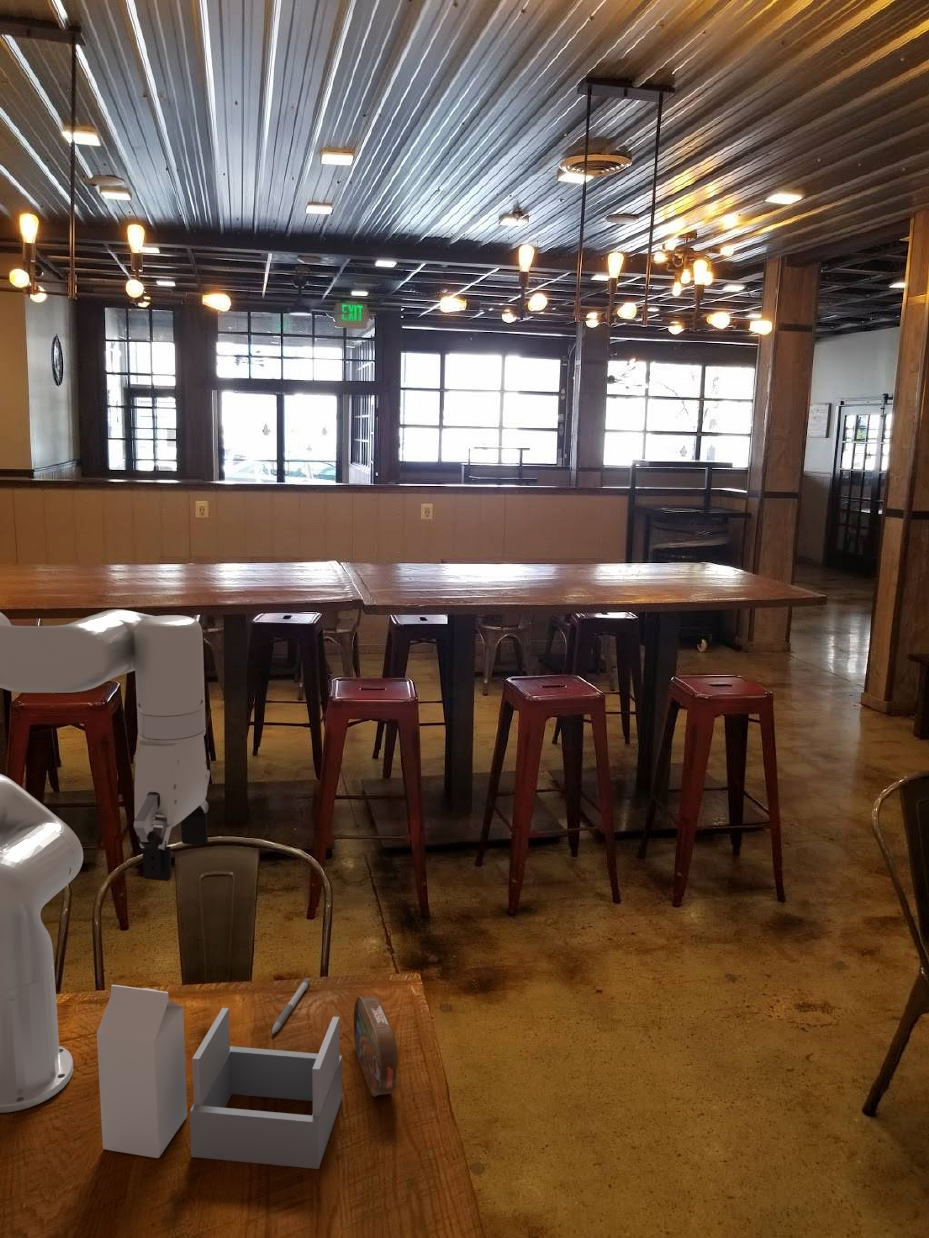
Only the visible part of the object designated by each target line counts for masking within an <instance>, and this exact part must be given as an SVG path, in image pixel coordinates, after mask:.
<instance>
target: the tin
mask: <svg viewBox="0 0 929 1238" xmlns="http://www.w3.org/2000/svg"><path fill="white" fill-rule="evenodd" d="M353 1038H354V1045H355V1047H354V1048H355V1052H356V1056H357V1058H358V1062H359V1064H360V1067H361V1070H362V1073H363V1076H364V1078H365V1082H366V1085H367V1088H368V1090H369V1092H370V1095H372V1097H377V1096H380V1095H388V1094H392V1093H394V1092H395V1090H396V1089H397V1077H398V1076H397V1074H398V1073H397V1072H398V1065H399V1053H398V1045H397V1040H396V1035H395V1032H394V1030H393V1027H392V1024H391V1022H390V1020H389V1018H388V1014H387V1013H386V1010H385V1009H384V1005H383V1004H382V1002H381V999H380V997H378V996H376V995H375V996H374V995H373V996H372V995H371V996H358V997H357V998H356V1000H355V1003H354V1009H353Z"/></svg>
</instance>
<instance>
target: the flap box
mask: <svg viewBox="0 0 929 1238" xmlns="http://www.w3.org/2000/svg"><path fill="white" fill-rule="evenodd" d="M229 1008H230V1007H222V1008H221V1009H220V1012H219V1013H218V1014H217V1016H216V1018H215V1020H214V1021H213V1023H212V1025H211V1026H210V1028H209V1030H208V1032H207V1033H206V1034H205V1036H204V1038H203V1039H202V1041H201V1043H200V1045H199V1046H198V1048H197V1050H196V1052H195V1053H194V1055H193V1057H192V1058H191V1059H192V1084H193V1085H192V1086H193V1089H192V1091H193V1092H192V1093H193V1104H192V1106H191V1108H190V1110H189V1125H190V1126H189V1127H190V1128H189V1129H190V1151H191V1154H190V1155H191V1156H190V1157H191V1158H199V1159H209V1160H210V1159H212V1160H220V1161H230V1162H231V1161H233V1162H239V1163H240V1162H241V1163H242V1162H243V1163H250V1164H251V1163H253V1164H264V1165H273V1166H283V1167H292V1168H293V1167H295V1168H296V1167H297V1168H305V1169H314V1170H318V1169H320V1168H321V1167H320V1166H321V1164H322V1160H323V1157H324V1154H325V1152H326V1149H327V1148H326V1147H327V1145H328V1142H329V1139H330V1136H331V1133H332V1130H333V1127H334V1124H335V1122H336V1121H335V1120H336V1118H337V1115H338V1112H339V1108H340V1106H341V1103H342V1100H343V1055H341V1054H340V1016H332V1019H331V1020H330V1023H329V1026H328V1028H327V1031H326V1033H325V1036H324V1039H323V1041H322V1043H321V1046H320V1048H319V1050H318V1051H319V1052H318V1053H313V1052H302V1051H291V1050H290V1051H289V1050H281V1049H267V1048H255V1047H243V1046H233V1045H231V1043H230V1042H231V1041H230V1010H229ZM232 1095H238V1096H239V1095H240V1096H251V1097H262V1098H272V1099H273V1098H275V1099H287V1100H294V1101H295V1100H296V1101H297V1100H298V1101H307V1102H312V1114H311V1115H310V1114H297V1113H286V1112H275V1111H264V1110H251V1109H242V1108H241V1109H240V1108H231V1107H230V1108H229V1107H226V1106H227V1105H228V1102H229V1100H230V1098H231V1096H232Z"/></svg>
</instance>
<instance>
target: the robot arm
mask: <svg viewBox="0 0 929 1238" xmlns="http://www.w3.org/2000/svg"><path fill="white" fill-rule="evenodd" d="M203 637H204V636H203V629H202V625H201V623H200V622H199V621H198V620H197V619H195V618H194V617H193V618H192V617H190V616H186V615H173V614H172V615H171V614H170V615H168V614H167V615H157V616H156V615H151V614H145V613H140V612H137V611H132V610H127V609H118V608H117V609H107V610H105V611H102V612H98V613H96V614H93V615H89V616H87V617H84V618H81V619H78V620H76V621H72V622H70V623H68V624H60V625H39V626H37V625H35V626H34V625H25V626H24V625H12V623H11V621H10V619H9V618H8V617H7V616H6V615H5V614H3V613H2V612H1V611H0V689H4V690H6V691H9V692H15V693H16V692H17V693H27V694H28V693H31V694H32V693H33V694H35V693H37V694H41V693H42V694H44V693H45V694H47V693H50V694H52V693H53V694H55V693H57V694H58V693H59V694H61V693H62V694H64V693H65V694H66V693H68V694H69V693H79V692H84V691H89V690H92V689H94V688H98V687H99V686H101V685H103V684H105V683H106V682H108V681H110V680H112V679H114V678H117V677H120V676H122V675H125V674H129V673H131V672H134V673H135V674H134V675H135V693H136V695H135V696H136V709H137V710H136V714H137V715H136V716H137V717H136V718H137V737H138V740H139V742H138V743H137V749H136V758H135V766H134V767H135V768H134V770H135V771H134V801H133V802H134V821H133V829H134V830H135V833H136V841H137V842H139V847H140V848H141V852H142V853H141V854H142V875H143V878H144V879H145V880H151V881H152V880H154V881H164V882H169V881H170V880H171V879H172V876H173V875H172V873H173V872H172V852H171V850H172V849H171V846H170V845H169V846H168V843H169V839H170V835H171V831H172V828H173V827H175V826H177V825H178V824H179V823H180V828H181V830H180V832H181V834H180V835H181V843H182V844H184V845H193V846H203V847H204V846H206V845H207V844H208V842H209V839H208V837H209V836H208V810H209V803H208V801H207V799H208V796H209V794H210V789H209V782H210V777H211V771H210V769H208V766H207V755H206V745H205V739H204V737H205V735H206V733H207V732H206V731H207V730H206V701H205V700H206V697H205V669H204V666H205V665H204V663H205V661H204V639H203ZM157 817H158V818H164V819H165V818H166V819H165V820H164V819H156V818H157ZM154 828H159V829H161V833H160V835H158V834H157V832H156V831H153V830H154ZM75 833H76V832H74V831H73V830H72V829H71V827H70V826H69V825H68V824H67V823H65V822H64V821H63V820H62V819H61V818H59V817H58V816H57V815H56V814H55V813H53V812H52V811H51V810H50V809H48V807H46V806H45V805H43V804H42V803H41V802H40V801H39V800H38V799H36V798H35V797H34V796H32V795H31V794H30V793H29V792H28V791H26V790H25V789H24V788H23V787H21V785H19V784H17V783H16V782H15V781H13V780H12V779H11V778H10V777H8V776H6V775H4V774H2V773H0V1114H1V1113H2V1114H3V1113H11V1112H18V1111H22V1110H26V1109H30V1108H31V1107H34V1106H37V1105H39V1104H41V1103H44V1102H46V1101H48V1100H49V1099H50V1098H52V1097H53V1096H55V1095H56V1094H58V1093H59V1092H60V1091H61V1090H62V1089H64V1088H65V1086H66V1085H67V1084H68V1082H70V1080H71V1077H72V1076H73V1073H74V1059H73V1055H72V1054H71V1052H70V1051H69V1050H68V1049H66V1048H65V1047H63V1046H61V1045H60V1037H59V1025H58V1024H59V1023H58V1006H57V1005H58V1004H57V991H56V989H57V988H56V977H55V961H54V950H53V949H54V948H53V942H52V938H51V935H50V933H49V932H48V930H47V928H46V926H45V925H44V923H43V920H42V918H41V912H42V910H43V907H45V906H46V904H47V903H49V901H51V900H52V899H53V898H54V897H55V896H56V895H57V894H58V893H60V892H61V891H62V890H63V889H64V888H66V886H67V885H69V884H70V883H71V882H72V881H73V880H74V879H75V878H76V876H77V875H78V874H79V872H80V871H81V868H82V865H83V861H84V851H83V847H82V844H81V841H80V839H79V838H78V835H76V834H75Z"/></svg>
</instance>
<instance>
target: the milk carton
mask: <svg viewBox="0 0 929 1238" xmlns="http://www.w3.org/2000/svg"><path fill="white" fill-rule="evenodd" d="M110 991H111V995H110V997H109V1000H108V1002H107V1005H106V1007H105V1009H104V1013H103V1015H102V1018H101V1020H100V1024H99V1026H98V1029H97V1031H96V1044H97V1045H96V1046H97V1064H98V1082H99V1098H100V1099H99V1102H100V1119H101V1134H102V1135H101V1138H102V1149H103V1150H107V1151H111V1152H119V1153H123V1154H124V1153H125V1154H130V1155H136V1156H142V1157H148V1158H155V1159H159V1158H160V1157H161V1156H162V1154H163V1152H164V1151H165V1150H166V1148H167V1147H168V1145H169V1144H170V1143H171V1141H172V1139H173V1138H174V1136H175V1135H176V1133H177V1132H178V1131H179V1129H180V1127H181V1126H182V1125H183V1123H184V1122H185V1120H186V1118H187V1117H188V1103H187V1101H188V1100H187V1081H186V1080H187V1079H186V1078H187V1075H186V1050H185V1049H186V1047H185V1022H184V1021H185V1020H184V1007H183V1006H182V1005H180V1004H178V1003H176V1002H173V1001H170V1000H169V999H170V997H169V992H168V991H163V990H158V989H154V988H148V987H142V988H141V987H132V986H126V985H119V984H118V985H117V984H111V985H110Z"/></svg>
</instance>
